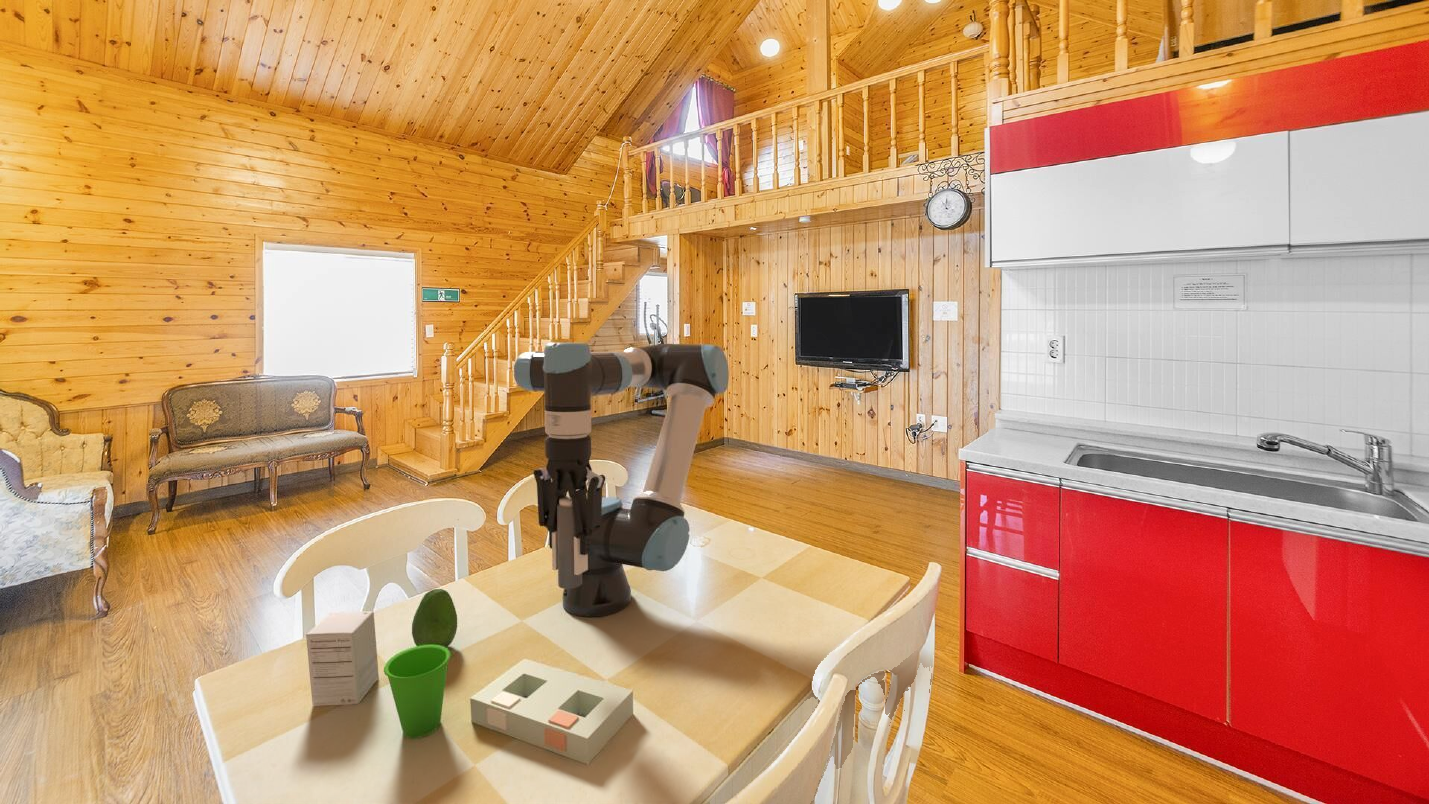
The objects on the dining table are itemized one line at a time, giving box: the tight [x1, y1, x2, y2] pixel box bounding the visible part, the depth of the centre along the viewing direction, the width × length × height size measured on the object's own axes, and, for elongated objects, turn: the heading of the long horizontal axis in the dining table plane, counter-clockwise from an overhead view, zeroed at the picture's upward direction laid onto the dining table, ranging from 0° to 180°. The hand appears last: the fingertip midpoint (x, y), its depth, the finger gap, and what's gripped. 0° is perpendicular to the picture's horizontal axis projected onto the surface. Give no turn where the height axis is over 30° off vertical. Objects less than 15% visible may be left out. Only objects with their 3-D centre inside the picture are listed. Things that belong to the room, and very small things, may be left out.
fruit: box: [411, 588, 458, 649], centre depth 110 cm, size 8×8×12 cm
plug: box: [557, 495, 582, 590], centre depth 99 cm, size 4×4×15 cm
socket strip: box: [469, 658, 634, 765], centre depth 91 cm, size 22×12×4 cm, turn 66°
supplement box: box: [305, 610, 380, 707], centre depth 97 cm, size 7×7×13 cm
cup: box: [383, 645, 452, 739], centre depth 89 cm, size 9×9×11 cm
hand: (570, 569), depth 100 cm, fingers closed on plug, 4 cm apart
